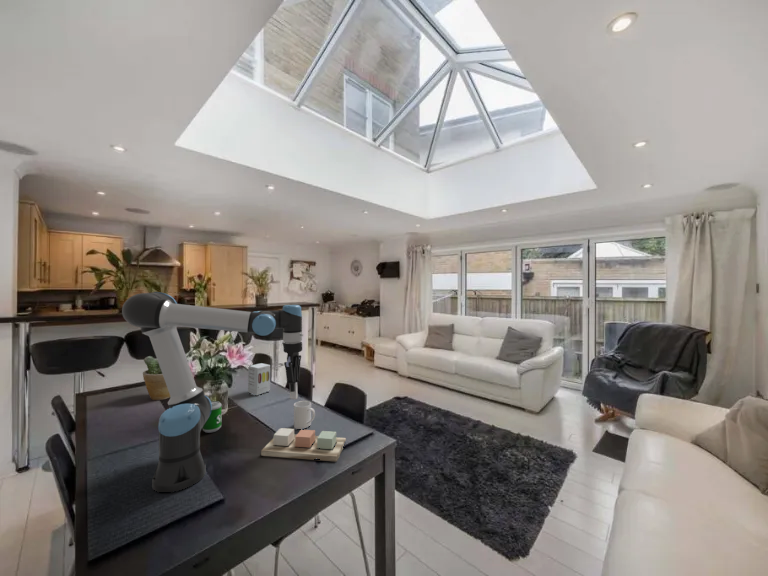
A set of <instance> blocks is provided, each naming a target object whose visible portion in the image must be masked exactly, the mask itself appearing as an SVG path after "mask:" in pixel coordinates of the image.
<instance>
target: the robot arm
mask: <svg viewBox="0 0 768 576" xmlns="http://www.w3.org/2000/svg"><path fill="white" fill-rule="evenodd" d="M121 310H122V311H121V315H122V317H123V319H124V320H125V321H126V323H128V324H129V325H131V326H132V327H133V326H134V327H137V328H140V331H141V334H142V335H145V336H147V337H149V340H150V342H151V345H152V349H153V351H154V355H155V357H156V359H157V360H158V363H159V365H160V368H161V371H162V374H163V377H164V379H165V382H166V385H167V388H168V391H169V393H170V396H171V397H170V398H169V400H168V401H167V405H168V408H167V409H165V411H163V412H162V413H161V415H160V417H159V419H158V423H157V429H158V462H157V465H156V467H155V471H154V474H153V477H152V480H151V488H152V490H153V491H154V490H155V491H154V492H156V491H157V492H156V493H159V492H171V493H174V492H173V491H176V492H179V491H178V490H180V491H183V490H186V489H188V488H190V487H192V486H194V485H195V483H196V484H197V483H198V482H199V483H200V481H201V480H202V479H203V478H204V477H205V475H206V470H207V469H206V468H207V467H206V462H205V461H204V460H203V456H202V453H201V447H200V446H201V431H202V430H203V426H204V424H205V423H206V421H207V420H208V418H209V416H210V414H211V410H212V404H211V399H210V398H209V396H207V395H205V393H204V390H203V388H202V387H199V386H198V385H197V384H196V381H195V378H194V376H193V372H192V369H191V367H190V364H189V361H188V359H187V358H188V357H187V354H186V353H185V349H184V347H183V344H182V341H181V338H180V335H179V332H178V329H177V328H178V327H182V328H192V329H203V330H204V329H205V330H217V331H224V332H225V331H228V332H237V333H239V332H240V333H249V334H256V335H258V336H261V337H262V336H264V337H265V336H269V335H270V334H271V333H273V332H274V331H275V329H276V330H277V329H283V330H282V338H283V349H282V350H283V352H284V353H286V361H285V362H284V363H283V364H284V365H283V366H284V367H285V368H284V369H285V375H286V383H287V385H289V399H290V400H297V399H298V396H299V395H298V383H299V382H300V375H301V374H300V373H301V372H300V371H301V361H302V355H301V354H300V352H302V351H303V342H302V341H303V337H304V334H303V316H302V315H303V314H302V306H301V305H299V304H285V305H283V306H282V309H280V310H257V311H245V310H237V309H228V308H227V309H226V308H218V307H211V306H208V307H207V306H200V305H190V304H183V303H182V304H181V303H178V302H177V300H175V298H174V297H173V296H171V295H170V294H168V293H164V292H160V291H159V292H158V291H154V292H141V293H137V294H134V295H132V296H130V297H129V298H127V299H126V301H124V303H123V305H122V308H121ZM193 484H194V485H193ZM191 485H192V486H191ZM189 486H190V487H189ZM187 487H188V488H187ZM185 488H186V489H185ZM182 489H183V490H182Z"/></svg>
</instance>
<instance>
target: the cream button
mask: <svg viewBox="0 0 768 576" xmlns="http://www.w3.org/2000/svg"><path fill="white" fill-rule="evenodd" d="M294 434H295V428H288V427H287V428H285V427H283V428H282V427H280V428H278V430H277V431H275V433H274V434H273V438H274V445H278V446H280V447H289V446H290V445H291V442H292V441H293V439H294Z"/></svg>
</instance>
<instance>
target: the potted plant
mask: <svg viewBox="0 0 768 576" xmlns="http://www.w3.org/2000/svg"><path fill="white" fill-rule="evenodd" d="M143 362H144V363H145V365H146V367H147V369H146V370H144V371H142V376H143V377H142V378H143V381H144V382H145V387H146V390H147V393H148V396H149V398H150V399H151V400H153V401H159V400H160V401H162V400H166V399H170V397H171V396H170V393H169V391H168V388H167V385H166V382H165V379H164V377H163V374H162V371H161V368H160V365H159V363H158V360H157V358H155V357H153V356H151V355H149V356H146V357H145V358H144V359H143Z"/></svg>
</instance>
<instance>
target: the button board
mask: <svg viewBox="0 0 768 576" xmlns="http://www.w3.org/2000/svg"><path fill="white" fill-rule="evenodd" d="M296 435H297V434H295V433H294V439H293V441H292V442H291V443H290V444H289V445H288V446H280V445H274V437H273V438H272V439H270V441H269V442H268V443H267V444H266V445H265V446H264V447H263V448H262V449H261V451H260V452H261V453H260V455H261V456H263V457H272V458H273V457H275V458H284V459H285V458H287V459H300V460H311V461H315V460H314V459H316V458H317V459H320V460H319V461H324V462H325V461H326V462H338V461H339V458H340V456H341V455H342V452H343V449H344V448H343V446H344V443H345V441H346V442H347V438H346V437H337V436H336V443H335V444H336V445H335V447H333V449H319V448H317V438H318V436H319V435H315V441H314V442H313V443H314V444H313V445H311V447H310V448H306V447H295V436H296ZM344 447H345V446H344Z"/></svg>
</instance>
